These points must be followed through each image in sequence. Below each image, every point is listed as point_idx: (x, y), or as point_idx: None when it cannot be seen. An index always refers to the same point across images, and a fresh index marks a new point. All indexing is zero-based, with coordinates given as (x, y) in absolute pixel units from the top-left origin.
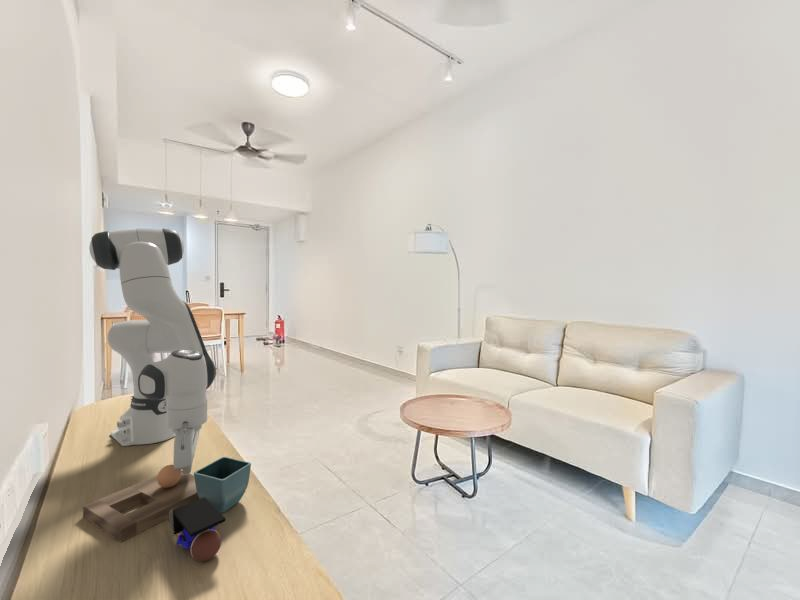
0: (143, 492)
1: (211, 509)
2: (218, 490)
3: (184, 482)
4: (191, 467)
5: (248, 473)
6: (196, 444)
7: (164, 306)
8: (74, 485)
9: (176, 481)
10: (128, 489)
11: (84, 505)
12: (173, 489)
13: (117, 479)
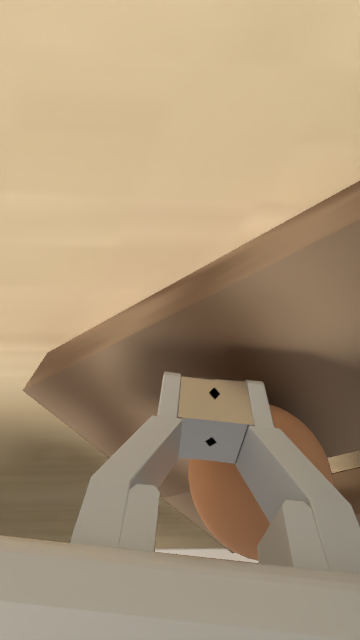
0: None
1: None
2: None
3: (247, 362)
4: (201, 384)
5: None
6: (42, 614)
7: None
8: (39, 527)
9: (307, 428)
10: (186, 502)
11: (232, 551)
12: (299, 403)
13: (23, 479)
